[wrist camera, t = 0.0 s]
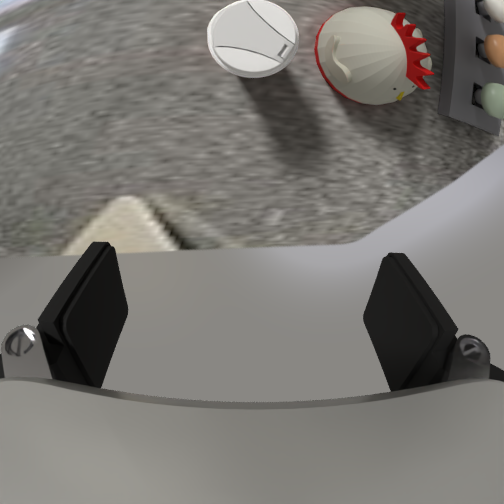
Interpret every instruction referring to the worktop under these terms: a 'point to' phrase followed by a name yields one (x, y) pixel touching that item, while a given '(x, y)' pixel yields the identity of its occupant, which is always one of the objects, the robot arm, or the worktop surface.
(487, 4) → the button ivory
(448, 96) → the console
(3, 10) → the worktop surface
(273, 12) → the paper cup
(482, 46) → the button terracotta
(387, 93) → the white rounded crested piece
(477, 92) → the button sage
